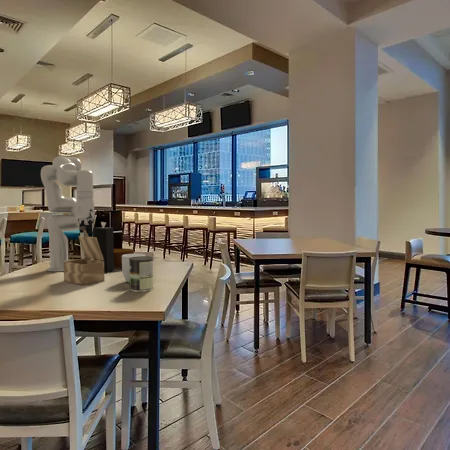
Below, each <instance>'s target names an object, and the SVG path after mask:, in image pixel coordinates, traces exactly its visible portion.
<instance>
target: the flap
mask: <svg viewBox="0 0 450 450" xmlns="http://www.w3.org/2000/svg"><path fill="white" fill-rule="evenodd" d="M80 230H83V232H84V233H83V234H84V236H83V235H78V239H79V242H80V244H81V247H82V251H83V253H84V256H85V259H92V260H94V259H97V260H104V259H103V256H102V253H101V250H100V247H99V244H98V241H97V238H96V237H93V236H89V233H86V227H84V226H81V227H80Z"/></svg>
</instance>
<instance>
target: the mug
mask: <svg viewBox="0 0 450 450" xmlns="http://www.w3.org/2000/svg"><path fill="white" fill-rule="evenodd" d="M138 256H146V254H145V253H144V254H143V253H134V254H125V255H122V268H121V270H122V276H123V278H124V280H125V281H126V283H128V284H130V265H129V258H131V257H138Z"/></svg>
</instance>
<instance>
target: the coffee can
mask: <svg viewBox="0 0 450 450" xmlns="http://www.w3.org/2000/svg"><path fill="white" fill-rule="evenodd" d="M153 260H154V257H153V256H146V255H145V256H138V257H131V258H129V265H130V283H129V291H130V292H134V293H144V292H145V293H146V292H149V291H153V290H154V284H153V283H154V282H153V281H154V278H153V277H154V272H153V269H154V267H153V265H154V264H153V262H154V261H153Z"/></svg>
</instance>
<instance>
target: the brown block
mask: <svg viewBox="0 0 450 450" xmlns="http://www.w3.org/2000/svg"><path fill="white" fill-rule="evenodd" d="M125 254H135V250H134V249H133V248H114V269H119V267H122V255H125Z"/></svg>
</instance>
